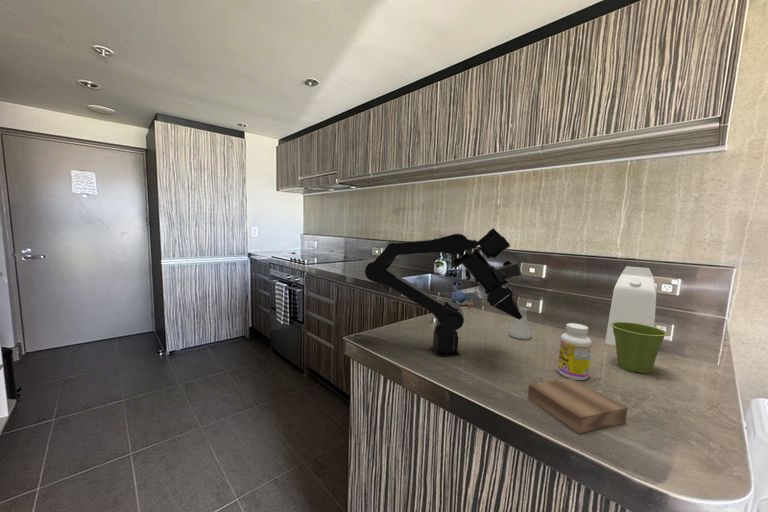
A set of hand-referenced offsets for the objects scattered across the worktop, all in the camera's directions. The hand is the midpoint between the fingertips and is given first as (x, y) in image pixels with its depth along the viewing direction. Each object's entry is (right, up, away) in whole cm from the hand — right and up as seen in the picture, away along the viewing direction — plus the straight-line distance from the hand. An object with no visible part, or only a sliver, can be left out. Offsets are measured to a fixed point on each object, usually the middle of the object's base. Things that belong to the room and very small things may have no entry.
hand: (519, 314), depth 83 cm
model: (+1, -9, +66) cm, 67 cm away
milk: (+46, -14, +20) cm, 52 cm away
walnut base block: (+2, -15, -21) cm, 26 cm away
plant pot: (+32, -15, +1) cm, 35 cm away
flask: (+10, -12, +23) cm, 28 cm away
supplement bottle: (+11, -15, -5) cm, 19 cm away
